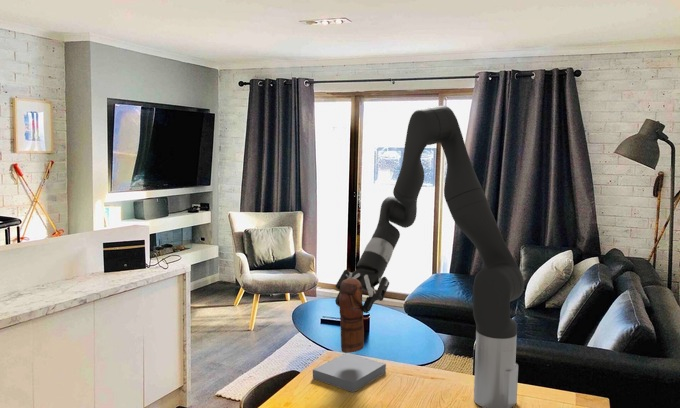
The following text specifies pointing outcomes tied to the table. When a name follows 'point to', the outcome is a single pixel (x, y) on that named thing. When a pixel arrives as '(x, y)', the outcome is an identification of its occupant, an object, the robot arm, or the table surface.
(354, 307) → the wooden figurine
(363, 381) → the base
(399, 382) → the table surface
